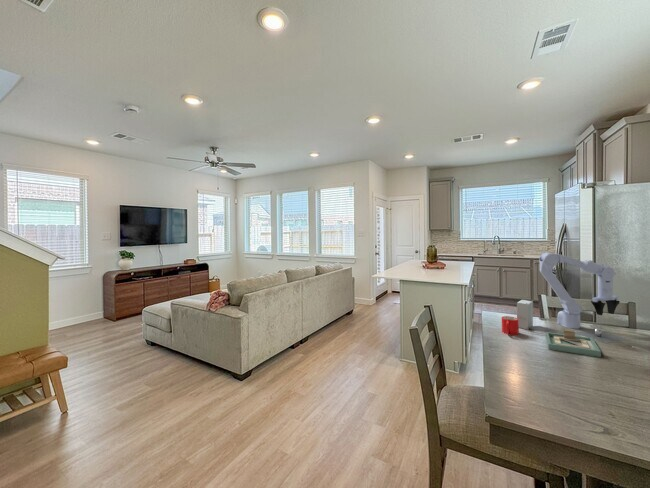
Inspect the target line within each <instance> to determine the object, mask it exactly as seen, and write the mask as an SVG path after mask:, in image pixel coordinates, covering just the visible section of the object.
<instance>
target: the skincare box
mask: <svg viewBox="0 0 650 488" xmlns="http://www.w3.org/2000/svg"><path fill="white" fill-rule="evenodd" d="M516 318H518V319H519V329H523V330H529V329H530V328H531V327H533V326H534V325H533V323H534V319H533V318H534V302H533V301H532V300H527V299H521V300H519V301H517V303H516Z"/></svg>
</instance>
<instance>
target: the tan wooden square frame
mask: <svg viewBox="0 0 650 488" xmlns="http://www.w3.org/2000/svg"><path fill="white" fill-rule="evenodd" d="M575 332H576V331H575V330H574V329H565V328H563V334H564V337H560V336H554V341H555V344H558V345H565V346H572V347H579V348H586V349H591V347H590V346H589V344H588V343H587V340H583V339H575V336H576V333H575ZM560 340H563V341H573V342H580V343H581V344H580V345H579V346H578V344H576V345H571V344H564V343H561V342H560Z"/></svg>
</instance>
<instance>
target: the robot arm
mask: <svg viewBox="0 0 650 488" xmlns="http://www.w3.org/2000/svg"><path fill="white" fill-rule="evenodd" d="M538 261H539V273H540V274H541V275H542V277H544V279H545V280H546V282H547V283H548V285H549V286H550V287H551V289H552V291H554V293H555V294H556V296H557V297H558V299H559V302H560V304H561V307H562V308H563V310H560V311H559V312H558V313H557V319H556V320H557V321H556V322H557V325H560V326H563V327H565V328H568V329H573V330H574V329H575V330H576V329H580V328H581V313H582V311H583V308H582V305H581V304H579V303H577V302H576V301H575V299H574V298H572V297H571V295H570V294H569V293H568V291H567V290H566V288H565V287H564V286H563V284H562V283H561V281H559V279H558V277H556V275H555V273H553V270H554V267H555V266H556V265H557V264H562V263H566V264H570V265H574V266H577V267H579V268H580V270H581V271H583V272H588V273H590V274H593V275H596V276H597V296H595V297H592V298H591V299H592V300H590V302H591V304H592V305H593V307H594V310H595V313H596V315H598V316H603V313H604V308H605V306H606V309H607V313H608V314H611V315H614V313H615V310H616V308H617V307H618V305H619V304H620V301H621V300H619V296H618V295H614V277H615V275H616V272H615V270H614V269H613V268H612V267H610V266H606V265H604V264H603V263H597V262H594V261H593V260H590V259H587V260H584V261H583V260H579V259H576V258H573V257H570V256H567V255H563V254H560V253H559V254H558V253H551V252H549V251H548V252H547V251H546V252H543V253H542V254H541V255H540V257H539V259H538Z"/></svg>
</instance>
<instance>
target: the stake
mask: <svg viewBox="0 0 650 488" xmlns="http://www.w3.org/2000/svg"><path fill="white" fill-rule="evenodd" d="M589 326H590V327H589V328H591V329H593V330H595V336H596V337H602V331H603V332H607V328H603V327H600V326H596V325H589Z"/></svg>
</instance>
